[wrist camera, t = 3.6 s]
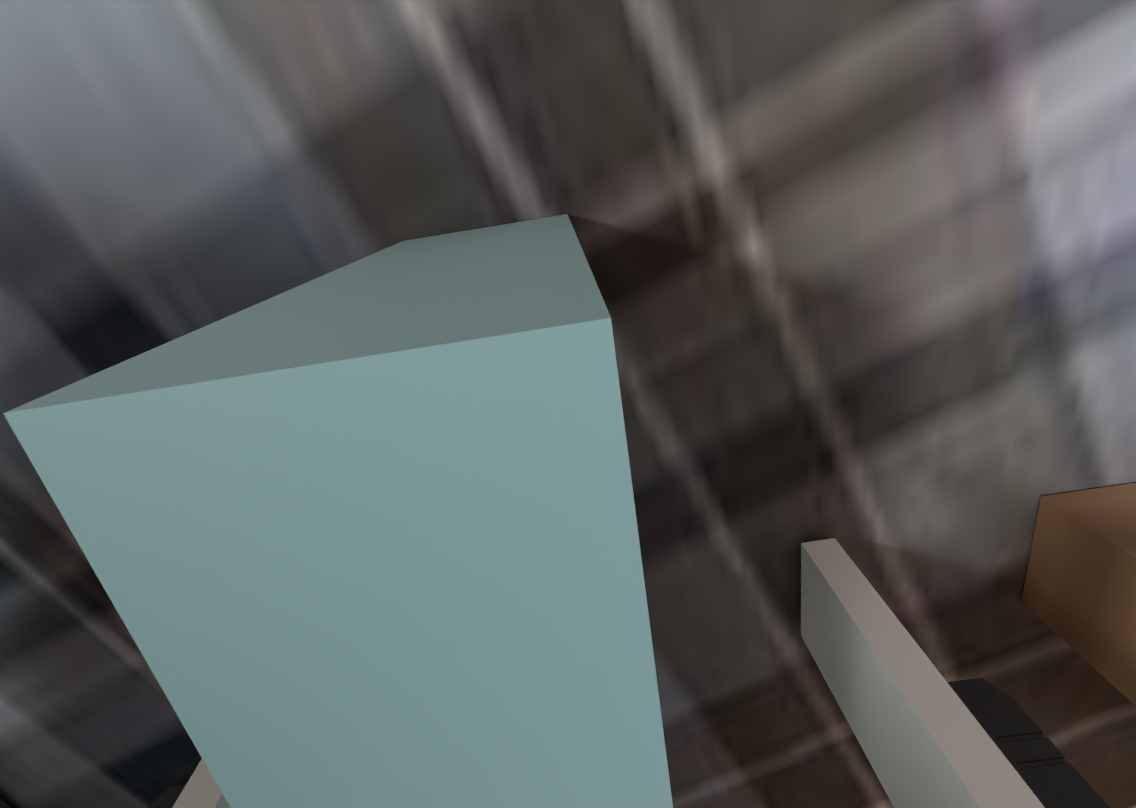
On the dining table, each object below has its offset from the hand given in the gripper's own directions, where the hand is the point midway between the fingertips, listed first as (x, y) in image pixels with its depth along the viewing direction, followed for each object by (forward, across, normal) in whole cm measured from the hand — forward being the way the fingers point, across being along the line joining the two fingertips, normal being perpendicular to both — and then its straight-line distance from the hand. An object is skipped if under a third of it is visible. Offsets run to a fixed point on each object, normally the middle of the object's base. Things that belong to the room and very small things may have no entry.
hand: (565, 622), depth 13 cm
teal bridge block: (0, 0, 0) cm, 0 cm away
